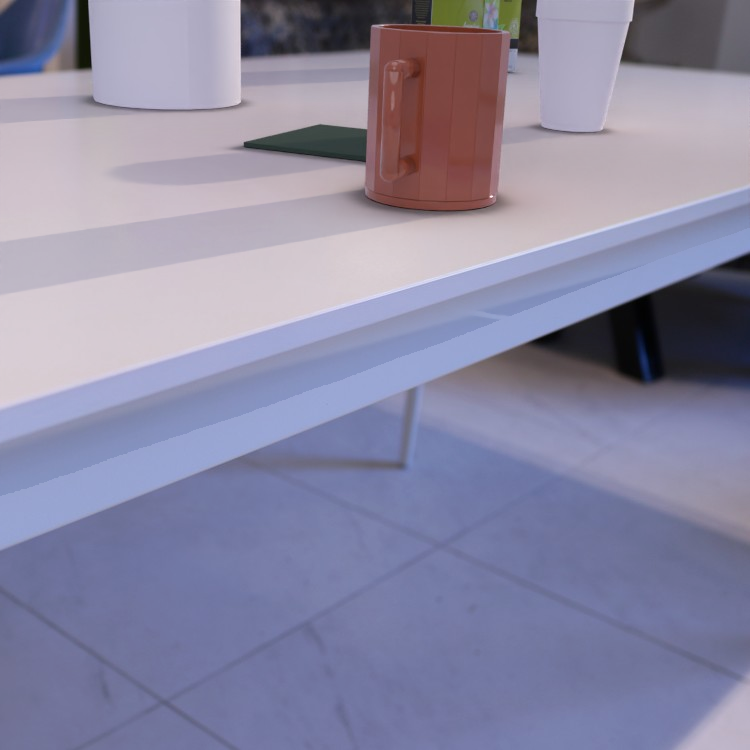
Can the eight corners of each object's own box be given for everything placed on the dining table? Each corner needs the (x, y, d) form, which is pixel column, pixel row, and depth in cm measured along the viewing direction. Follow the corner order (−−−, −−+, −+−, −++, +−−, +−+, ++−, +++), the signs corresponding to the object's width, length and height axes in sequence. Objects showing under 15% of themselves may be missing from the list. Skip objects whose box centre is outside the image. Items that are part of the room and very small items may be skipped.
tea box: (518, 71, 168) (526, -27, 163) (479, 74, 161) (486, -29, 156) (446, 63, 178) (451, -30, 173) (406, 65, 171) (411, -32, 166)
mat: (456, 143, 96) (456, 138, 95) (395, 164, 84) (395, 159, 83) (319, 128, 101) (319, 124, 101) (243, 146, 89) (243, 142, 89)
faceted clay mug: (396, 179, 78) (404, 22, 74) (512, 193, 75) (527, 30, 71) (319, 208, 67) (323, 28, 63) (451, 227, 64) (464, 37, 60)
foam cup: (544, 133, 103) (557, -7, 99) (513, 120, 112) (524, -10, 107) (633, 134, 105) (651, -3, 101) (596, 121, 114) (611, -6, 109)
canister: (186, 89, 127) (181, -92, 120) (270, 104, 116) (271, -93, 109) (65, 95, 116) (52, -103, 109) (146, 113, 106) (138, -106, 98)
